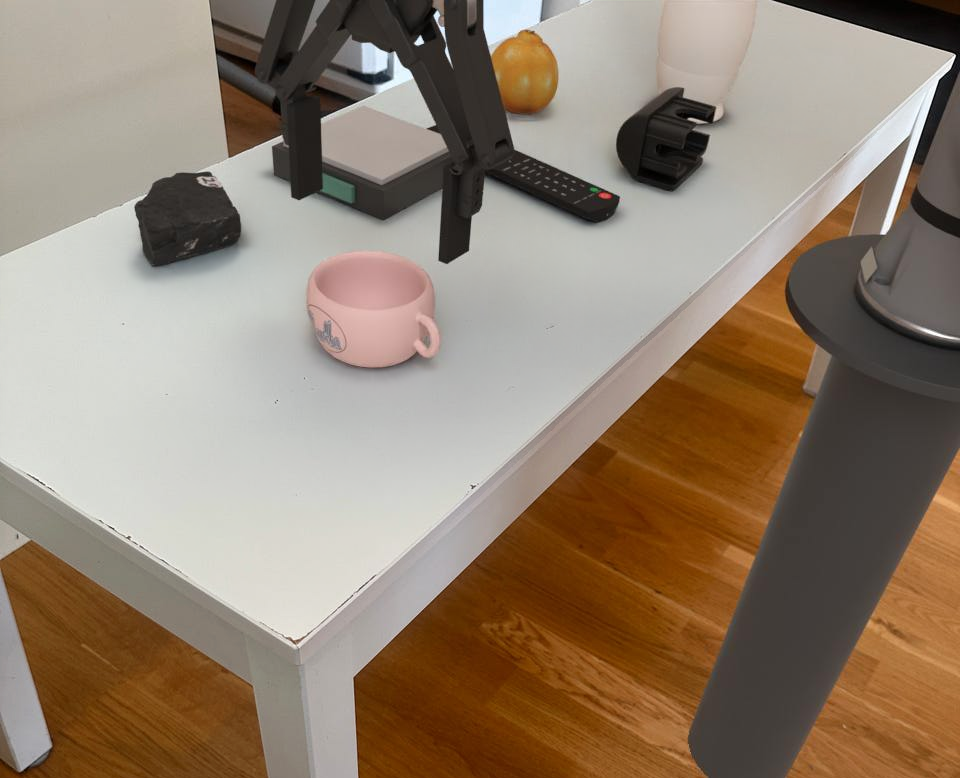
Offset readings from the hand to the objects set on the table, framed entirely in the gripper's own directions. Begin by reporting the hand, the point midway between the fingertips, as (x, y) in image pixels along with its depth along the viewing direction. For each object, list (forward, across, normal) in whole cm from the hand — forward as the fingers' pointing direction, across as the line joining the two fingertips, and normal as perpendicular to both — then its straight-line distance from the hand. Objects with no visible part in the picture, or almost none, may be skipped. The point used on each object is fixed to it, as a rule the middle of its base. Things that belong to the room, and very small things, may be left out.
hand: (378, 224), depth 74 cm
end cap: (+11, 0, +48) cm, 49 cm away
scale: (+11, -21, +25) cm, 34 cm away
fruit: (+11, -20, +51) cm, 56 cm away
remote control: (+11, -10, +35) cm, 38 cm away
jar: (+10, -5, +65) cm, 66 cm away
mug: (+11, 0, 0) cm, 11 cm away
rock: (+11, -23, +2) cm, 25 cm away
